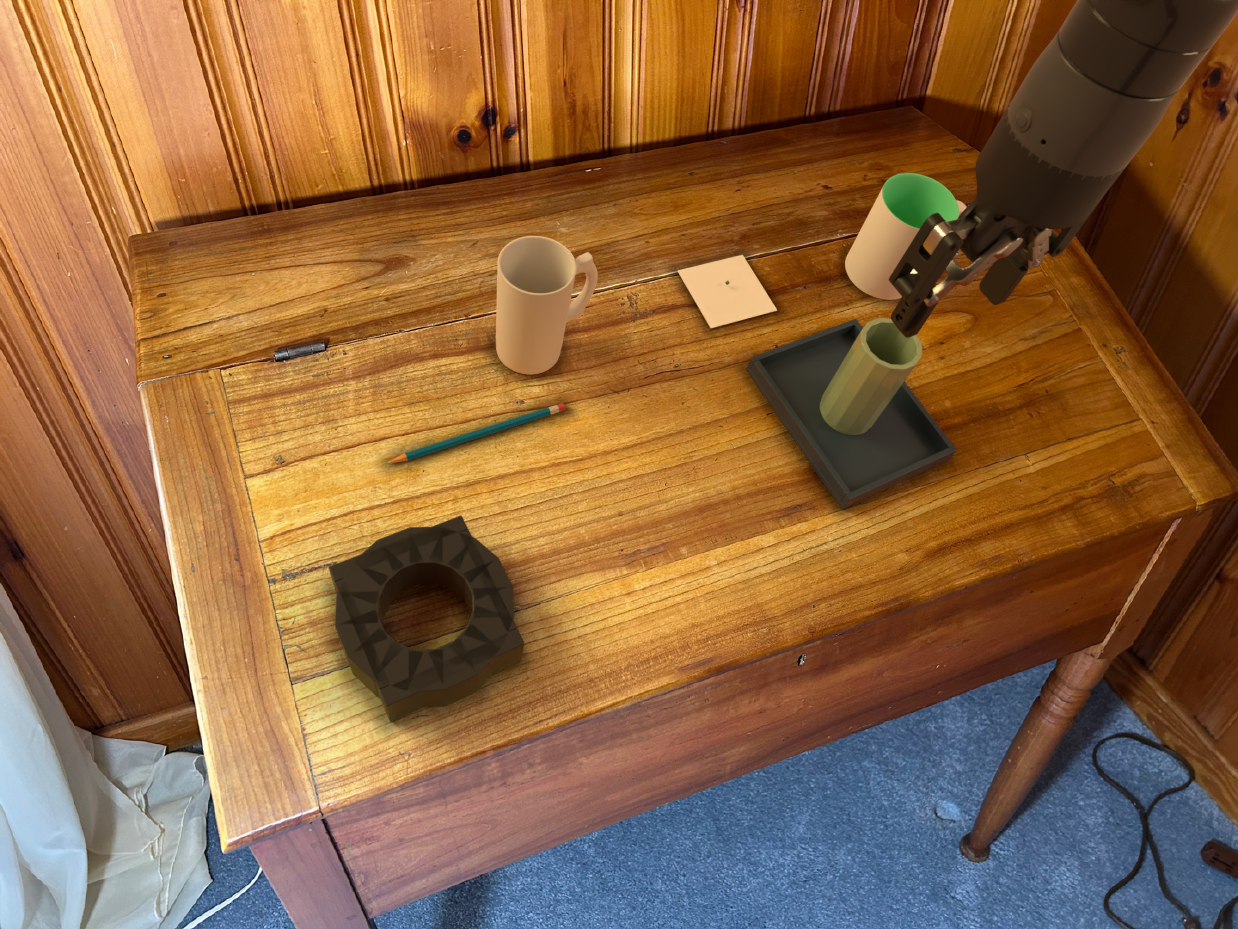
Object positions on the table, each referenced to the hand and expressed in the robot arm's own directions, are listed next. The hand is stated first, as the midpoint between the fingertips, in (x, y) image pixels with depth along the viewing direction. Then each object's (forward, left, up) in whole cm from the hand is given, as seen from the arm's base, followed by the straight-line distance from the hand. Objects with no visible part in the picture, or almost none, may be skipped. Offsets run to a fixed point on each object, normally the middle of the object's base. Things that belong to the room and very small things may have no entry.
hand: (947, 311), depth 67 cm
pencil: (+17, +29, -24) cm, 41 cm away
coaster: (+23, -2, -24) cm, 34 cm away
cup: (+5, -5, -24) cm, 25 cm away
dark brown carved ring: (+2, +40, -24) cm, 47 cm away
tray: (+5, -5, -24) cm, 25 cm away
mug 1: (+24, +19, -24) cm, 39 cm away
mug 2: (+19, -22, -24) cm, 38 cm away
